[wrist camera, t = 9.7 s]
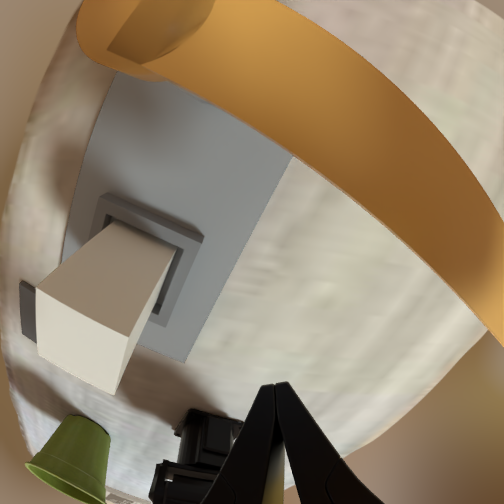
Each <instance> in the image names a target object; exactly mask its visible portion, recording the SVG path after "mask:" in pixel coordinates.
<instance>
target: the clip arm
mask: <svg viewBox="0 0 504 504" xmlns="http://www.w3.org/2000/svg"><path fill="white" fill-rule="evenodd" d="M76 35H77V40H78V43H79V45H80V47H81V49H82V51H83V52H84V53H85V54H86V55H87V56H88V57H89V58H90V59H91V60H93V61H95V62H97V63H99V64H102V65H104V66H107V67H110V68H112V69H115V70H117V71H120V72H123V73H125V74H128V75H130V76H133V77H135V78H138V79H140V80H144V81H150V82H163V81H169V82H171V83H173V84H175V85H177V86H179V87H181V88H183V89H185V90H187V91H188V92H190V93H192V94H194V95H196V96H198V97H199V98H201V99H203V100H205V101H207V102H208V103H210V104H212V105H214V106H215V107H217V108H219V109H221V110H222V111H224V112H226V113H227V114H229V115H231V116H232V117H234V118H236V119H237V120H239V121H241V122H242V123H244V124H246V125H247V126H249V127H250V128H252V129H254V130H255V131H257V132H258V133H260V134H261V135H263V136H264V137H266V138H268V139H269V140H271V141H272V142H274V143H275V144H277V145H278V146H280V147H281V148H283V149H284V150H285V151H287V152H288V153H290V154H291V155H293V156H294V157H296V158H297V159H298V160H300V161H301V162H303V163H304V164H306V165H307V166H308V167H310V168H311V169H313V170H314V171H315V172H317V173H318V174H319V175H321V176H322V177H323V178H325V179H326V180H327V181H329V182H330V183H331V184H333V185H334V186H335V187H337V188H338V189H339V190H341V191H342V192H343V193H344V194H346V195H347V196H348V197H349V198H351V199H352V200H353V201H355V202H356V203H357V204H358V205H359V206H361V207H362V208H363V209H364V210H366V211H367V212H368V213H369V214H370V215H372V216H373V217H374V218H375V219H376V220H378V221H379V222H380V223H381V224H382V225H384V226H385V227H386V228H387V229H388V230H389V231H390V232H392V233H393V234H394V235H395V236H396V237H397V238H398V239H400V240H401V241H402V242H403V243H404V244H405V245H406V246H407V247H408V248H409V249H411V250H412V251H413V252H414V253H415V254H416V255H417V256H418V257H419V258H420V259H421V260H422V261H423V262H424V263H425V264H427V265H428V266H429V267H430V268H431V269H432V270H433V271H434V272H435V273H436V274H437V275H438V276H439V277H440V278H441V279H442V280H443V281H444V282H445V283H446V284H447V285H448V286H449V287H450V288H451V289H452V290H453V291H454V293H455V294H456V295H457V296H458V297H459V298H460V299H461V300H462V301H463V302H464V303H465V304H466V305H467V306H468V308H469V309H470V310H471V311H472V312H473V313H474V314H475V315H476V316H477V318H478V319H479V320H480V321H481V322H482V323H483V324H484V326H485V327H486V328H487V329H488V330H489V331H490V332H491V333H492V334H493V336H494V337H495V338H496V339H497V340H498V341H499V343H500V344H501V345H502V346H503V347H504V222H503V220H502V218H501V217H500V215H499V213H498V212H497V210H496V208H495V207H494V205H493V203H492V202H491V200H490V198H489V197H488V195H487V194H486V192H485V191H484V189H483V188H482V186H481V185H480V183H479V182H478V180H477V179H476V177H475V176H474V174H473V173H472V172H471V170H470V169H469V167H468V166H467V165H466V163H465V162H464V161H463V159H462V158H461V157H460V155H459V154H458V153H457V151H456V150H455V149H454V148H453V146H452V145H451V144H450V143H449V141H448V140H447V139H446V138H445V137H444V135H443V134H442V133H441V132H440V131H439V130H438V129H437V127H436V126H435V125H434V124H433V123H432V122H431V121H430V120H429V118H428V117H427V116H426V115H425V114H424V113H423V112H422V111H421V110H420V109H419V108H418V107H417V106H416V105H415V104H414V103H413V102H412V101H411V100H410V99H409V98H408V97H407V96H406V95H405V94H404V93H403V92H402V91H401V90H400V89H399V88H398V87H397V86H396V85H395V84H394V83H392V82H391V81H390V80H389V79H388V78H387V77H386V76H385V75H384V74H382V73H381V72H380V71H379V70H378V69H377V68H375V67H374V66H373V65H372V64H371V63H369V62H368V61H367V60H366V59H364V58H363V57H362V56H361V55H359V54H358V53H357V52H355V51H354V50H353V49H352V48H350V47H349V46H347V45H346V44H345V43H343V42H342V41H341V40H339V39H338V38H336V37H335V36H334V35H332V34H331V33H329V32H328V31H326V30H325V29H323V28H322V27H320V26H319V25H317V24H315V23H314V22H312V21H311V20H309V19H307V18H306V17H304V16H302V15H301V14H299V13H297V12H296V11H294V10H292V9H290V8H289V7H287V6H285V5H283V4H281V3H279V2H278V1H276V0H84V1H83V3H82V5H81V8H80V10H79V13H78V17H77V23H76Z"/></svg>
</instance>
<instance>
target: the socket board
mask: <svg viewBox="0 0 504 504" xmlns="http://www.w3.org/2000/svg"><path fill="white" fill-rule="evenodd" d="M292 157H293V155H291V154H290V153H288V152H287V151H285V150H284V149H283V148H281V147H280V146H278V145H277V144H275V143H274V142H272V141H271V140H269V139H268V138H266V137H264V136H263V135H261V134H260V133H258V132H257V131H255V130H254V129H252V128H250V127H249V126H247V125H246V124H244V123H242V122H241V121H239V120H237V119H236V118H234V117H232V116H231V115H229V114H227V113H226V112H224V111H222V110H221V109H219V108H217V107H215V106H214V105H212V104H210V103H208V102H207V101H205V100H203V99H201V98H199V97H198V96H196V95H194V94H192V93H190V92H188V91H187V90H185V89H183V88H181V87H179V86H177V85H175V84H173V83H171V82H169V81H163V82H150V81H144V80H140V79H138V78H135V77H133V76H130V75H128V74H125V73H123V72H120V71H117V73H116V75H115V78H114V80H113V82H112V84H111V86H110V89H109V91H108V93H107V96H106V98H105V100H104V103H103V105H102V108H101V110H100V113H99V116H98V118H97V121H96V124H95V126H94V129H93V132H92V135H91V138H90V141H89V144H88V147H87V150H86V153H85V156H84V160H83V163H82V166H81V170H80V173H79V177H78V181H77V185H76V189H75V193H74V197H73V201H72V206H71V210H70V215H69V220H68V225H67V230H66V236H65V242H64V248H63V255H62V262H61V264H62V263H63V262H64V261H66V260H67V259H68V258H69V257H70V256H71V255H73V254H74V253H75V252H76V251H77V250H79V249H80V248H81V247H82V246H83V245H85V244H86V243H87V242H88V241H90V240H91V239H92V238H93V237H94V236H96V235H97V234H98V233H100V232H101V231H102V230H103V229H105V228H106V227H107V226H109V225H110V224H111V223H112V222H114V221H115V220H116V219H119V220H121V221H123V222H125V223H127V224H130V225H132V226H134V227H136V228H138V229H140V230H143V231H145V232H147V233H149V234H151V235H153V236H156V237H158V238H160V239H162V240H164V241H167V242H169V243H171V244H173V245H175V246H178V248H177V250H176V253H175V255H174V258H173V260H172V263H171V265H170V268H169V270H168V273H167V275H166V278H165V281H164V283H163V286H162V288H161V291H160V294H159V297H158V299H157V301H156V303H155V305H154V307H153V309H152V311H151V313H150V316H149V318H148V320H147V322H146V324H145V326H144V328H143V330H142V333H141V335H140V337H139V339H138V341H137V344H139V345H141V346H143V347H146V348H148V349H150V350H153V351H155V352H157V353H160V354H162V355H165V356H167V357H169V358H172V359H174V360H177V361H180V362H182V363H185V361H186V359H187V357H188V355H189V353H190V351H191V349H192V347H193V345H194V343H195V341H196V339H197V337H198V335H199V333H200V331H201V329H202V328H203V326H204V324H205V322H206V320H207V318H208V316H209V314H210V312H211V310H212V308H213V306H214V304H215V302H216V301H217V299H218V297H219V295H220V293H221V291H222V289H223V287H224V285H225V283H226V281H227V279H228V278H229V276H230V274H231V272H232V270H233V268H234V266H235V264H236V262H237V260H238V258H239V257H240V255H241V253H242V251H243V249H244V247H245V245H246V243H247V241H248V239H249V238H250V236H251V234H252V232H253V230H254V228H255V226H256V224H257V222H258V220H259V219H260V217H261V215H262V213H263V211H264V209H265V207H266V205H267V203H268V202H269V200H270V198H271V196H272V194H273V192H274V190H275V188H276V187H277V185H278V183H279V181H280V179H281V177H282V175H283V173H284V172H285V170H286V168H287V166H288V164H289V162H290V160H291V159H292Z"/></svg>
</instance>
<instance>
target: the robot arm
mask: <svg viewBox="0 0 504 504" xmlns="http://www.w3.org/2000/svg"><path fill="white" fill-rule="evenodd" d="M174 435H175V436H177V437H181V442H180V448H179V454H178V460H177V463H175V462H170V461H169V460H165V459H163V463H160V464H156V469H155V474H154V478H153V482H152V485H151V488H150V492H149V499H150V500H151V501H152V502H153V504H283V501H284V465H285V449H286V452H287V456H288V459H289V463H290V467H291V470H292V474H293V477H294V481H295V484H296V488H297V491H298V495H299V498H300V502H301V504H384V503H383V502H382V501H381V500H380V499H379V498H378V497H377V496H376V495H374V494H373V493H372V492H371V491H370V490H369V489H368V488H367V487H366V486H365V485H364V484H363V483H362V482H361V481H360V480H359V479H358V478H357V477H356V475H355V474H354V473H353V472H352V470H351V469H350V468H349V467H348V465H347V464H346V463H345V461H344V460H343V459H342V458H340V455H339V453H338V452H337V451H336V449H335V448H334V447H333V445H332V444H331V442H330V441H329V440H328V438H327V437H326V435H325V434H324V433H323V431H322V430H321V428H320V427H319V426H318V424H317V423H316V421H315V420H314V419H313V417H312V416H311V414H310V413H309V411H308V410H307V408H306V407H305V406H304V404H303V403H302V401H301V400H300V398H299V397H298V395H297V394H296V392H295V391H294V389H293V388H292V387H291V385H290V384H289V382H287V381H285V382H280V383H276V384H275V385H274V384H268V385H262V386H261V387H260V389H259V391H258V394H257V396H256V398H255V400H254V402H253V405H252V407H251V409H250V411H249V413H248V415H247V417H246V420H245V422H244V424H243V423H240V422H236V421H232V420H228V419H225V418H221V417H217V416H214V415H211V414H207V413H204V412H201V411H198V410H194V409H189V410H188V411H187V413H186V415H185V416H184V418H183V419H182V421H181V422H180V424H179V425H178V427H177V428H176V430H175V432H174ZM234 439H236V440H235V442H234V444H233V440H234ZM167 479H169V480H173V481H172V482H171V481H167Z"/></svg>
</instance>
